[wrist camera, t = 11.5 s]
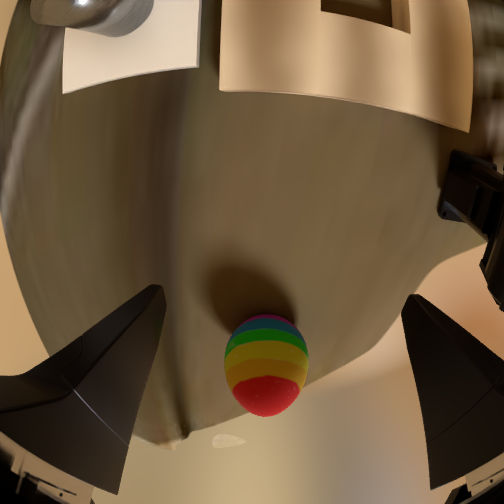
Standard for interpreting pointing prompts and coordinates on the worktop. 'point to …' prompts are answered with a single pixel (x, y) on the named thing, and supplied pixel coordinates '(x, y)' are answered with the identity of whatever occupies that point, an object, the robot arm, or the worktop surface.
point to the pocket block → (354, 55)
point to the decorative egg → (266, 364)
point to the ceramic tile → (135, 47)
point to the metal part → (93, 15)
